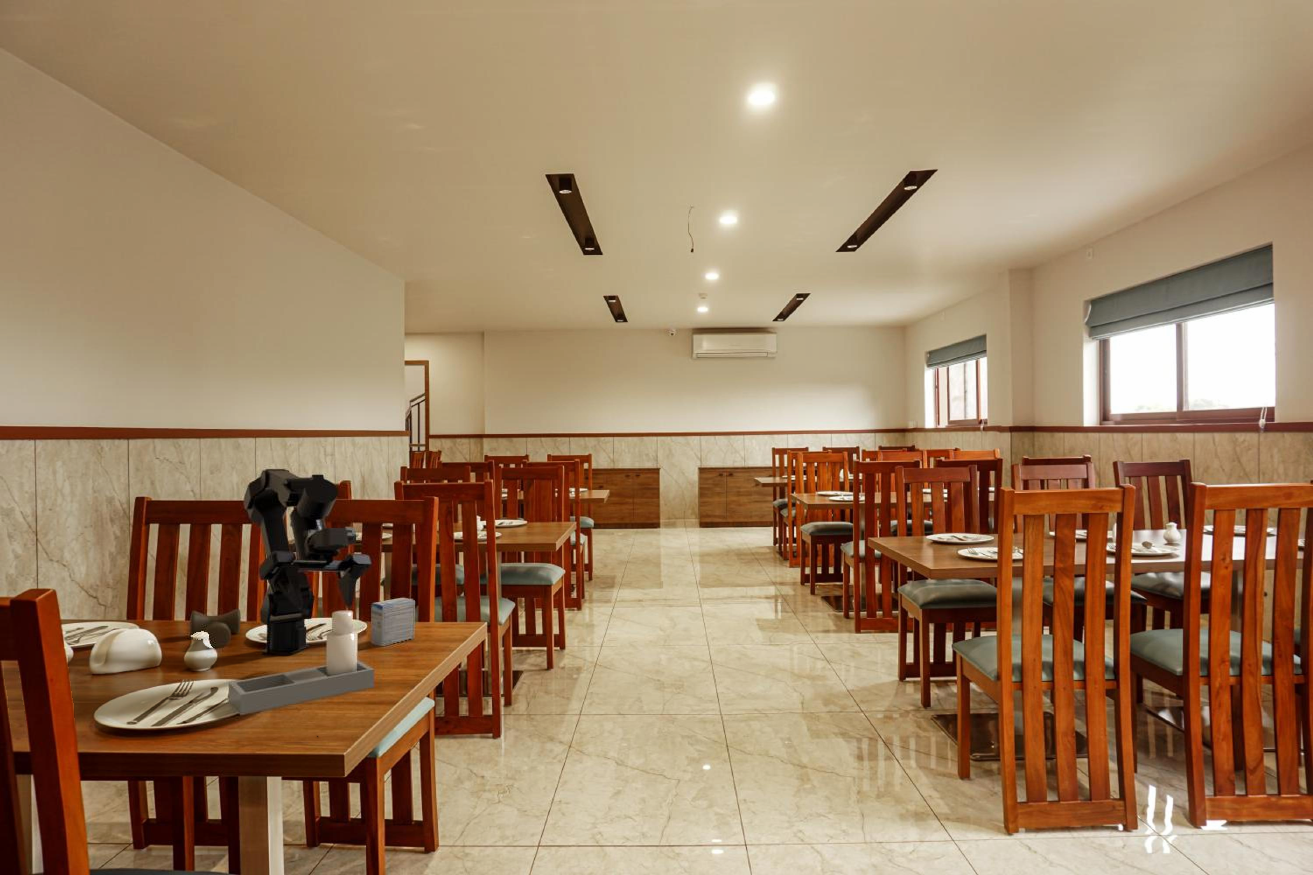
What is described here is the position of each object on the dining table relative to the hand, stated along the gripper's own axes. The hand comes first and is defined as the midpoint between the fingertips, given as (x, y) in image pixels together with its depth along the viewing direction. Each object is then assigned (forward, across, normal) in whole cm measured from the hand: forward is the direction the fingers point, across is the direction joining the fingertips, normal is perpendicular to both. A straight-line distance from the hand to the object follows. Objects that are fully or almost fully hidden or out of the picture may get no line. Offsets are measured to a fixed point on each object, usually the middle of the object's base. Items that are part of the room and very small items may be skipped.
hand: (326, 607), depth 130 cm
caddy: (+15, -6, +2) cm, 17 cm away
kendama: (-17, +2, +45) cm, 48 cm away
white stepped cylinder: (+15, 0, 0) cm, 15 cm away
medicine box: (0, +24, +17) cm, 29 cm away
